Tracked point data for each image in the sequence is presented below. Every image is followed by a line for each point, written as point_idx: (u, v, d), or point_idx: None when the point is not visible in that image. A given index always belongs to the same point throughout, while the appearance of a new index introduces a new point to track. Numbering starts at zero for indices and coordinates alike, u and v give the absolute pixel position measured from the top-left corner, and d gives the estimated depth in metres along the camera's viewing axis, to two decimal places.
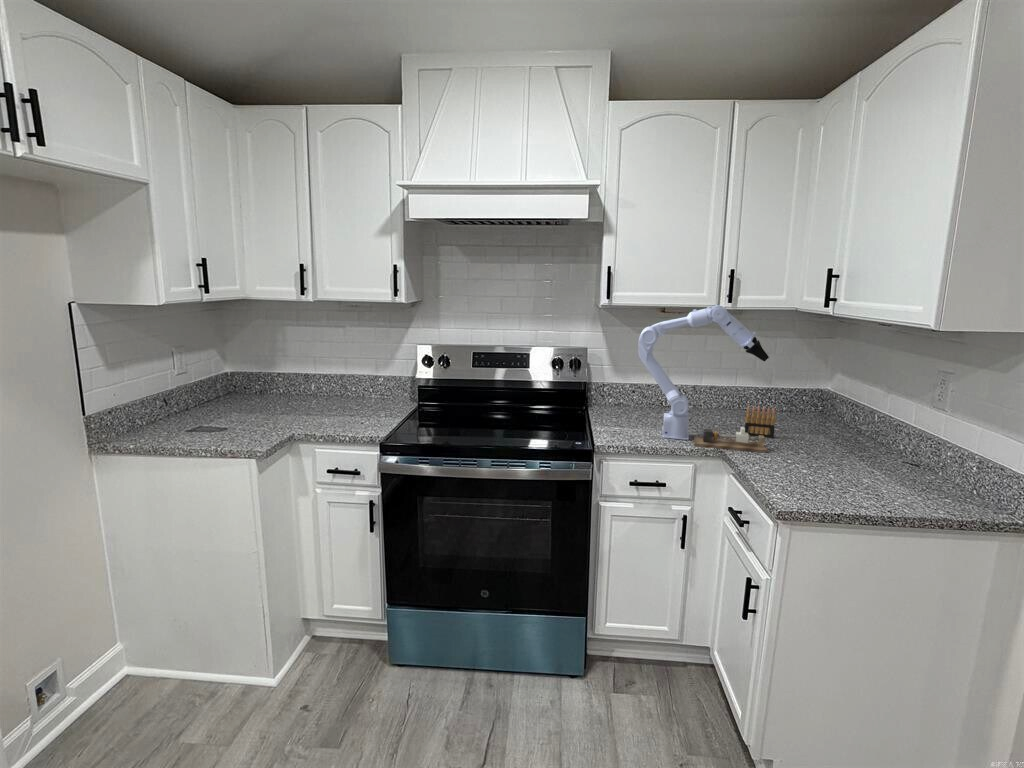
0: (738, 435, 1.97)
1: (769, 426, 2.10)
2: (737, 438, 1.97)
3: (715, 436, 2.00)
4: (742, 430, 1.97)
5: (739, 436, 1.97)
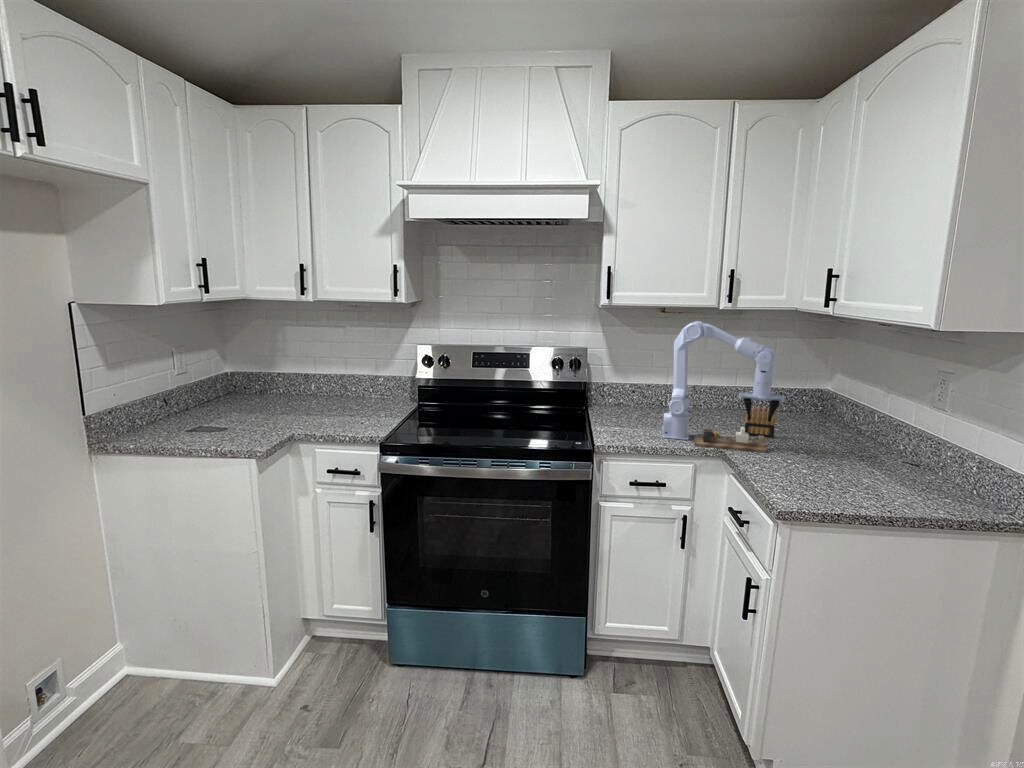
0: (738, 435, 1.97)
1: (769, 426, 2.10)
2: (737, 438, 1.97)
3: (715, 436, 2.00)
4: (742, 430, 1.97)
5: (739, 436, 1.97)
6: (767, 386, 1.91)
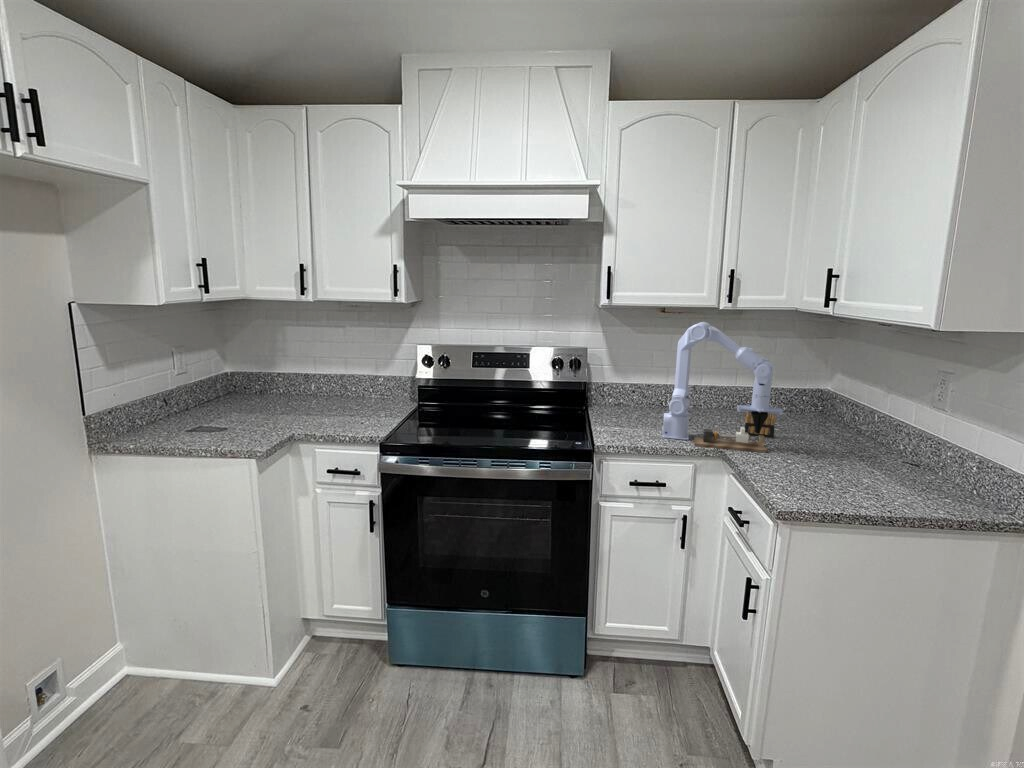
0: (738, 435, 1.97)
1: (769, 426, 2.10)
2: (737, 438, 1.97)
3: (715, 436, 2.00)
4: (742, 430, 1.97)
5: (739, 436, 1.97)
6: (765, 399, 1.91)
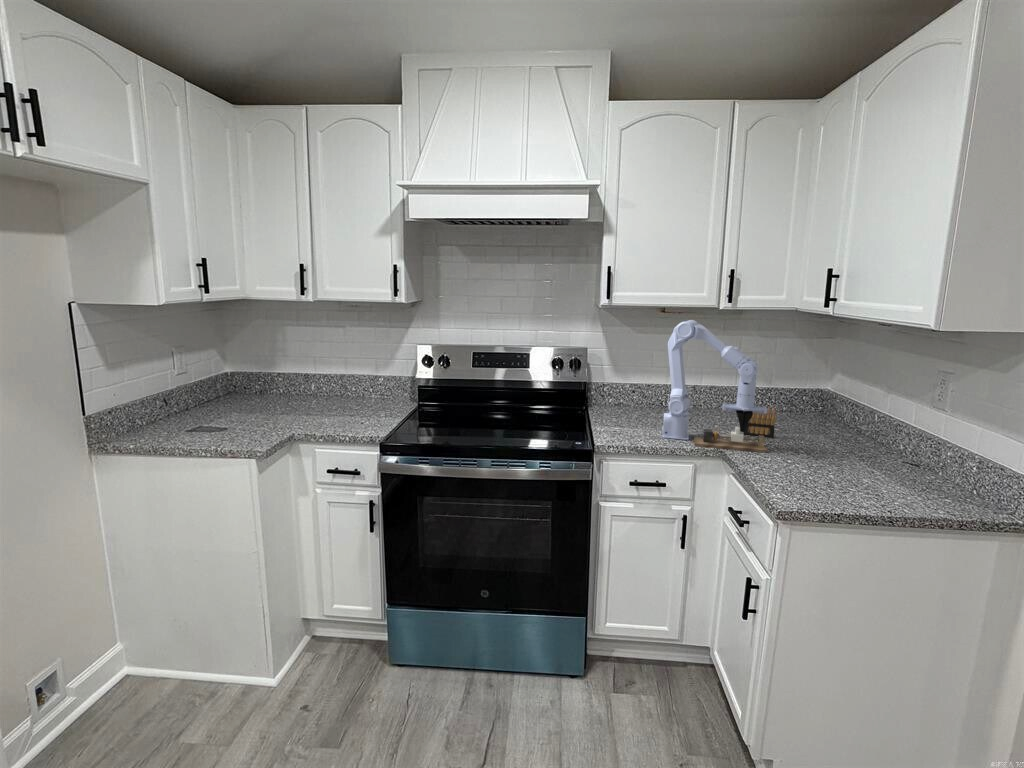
0: (733, 435, 1.98)
1: (769, 426, 2.10)
2: (732, 438, 1.98)
3: (715, 436, 2.00)
4: (737, 430, 1.97)
5: (734, 436, 1.98)
6: (750, 398, 1.93)
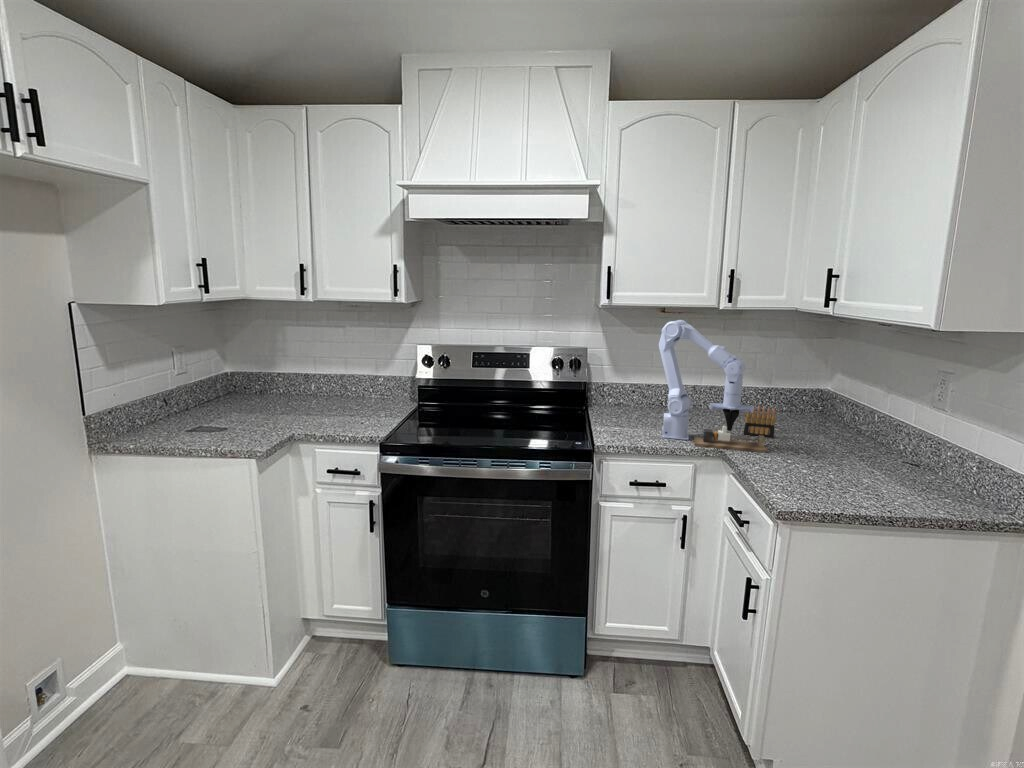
0: (720, 433, 1.99)
1: (769, 426, 2.10)
2: (719, 436, 1.99)
3: (715, 436, 2.00)
4: (724, 428, 1.98)
5: (721, 434, 1.99)
6: (736, 397, 1.94)
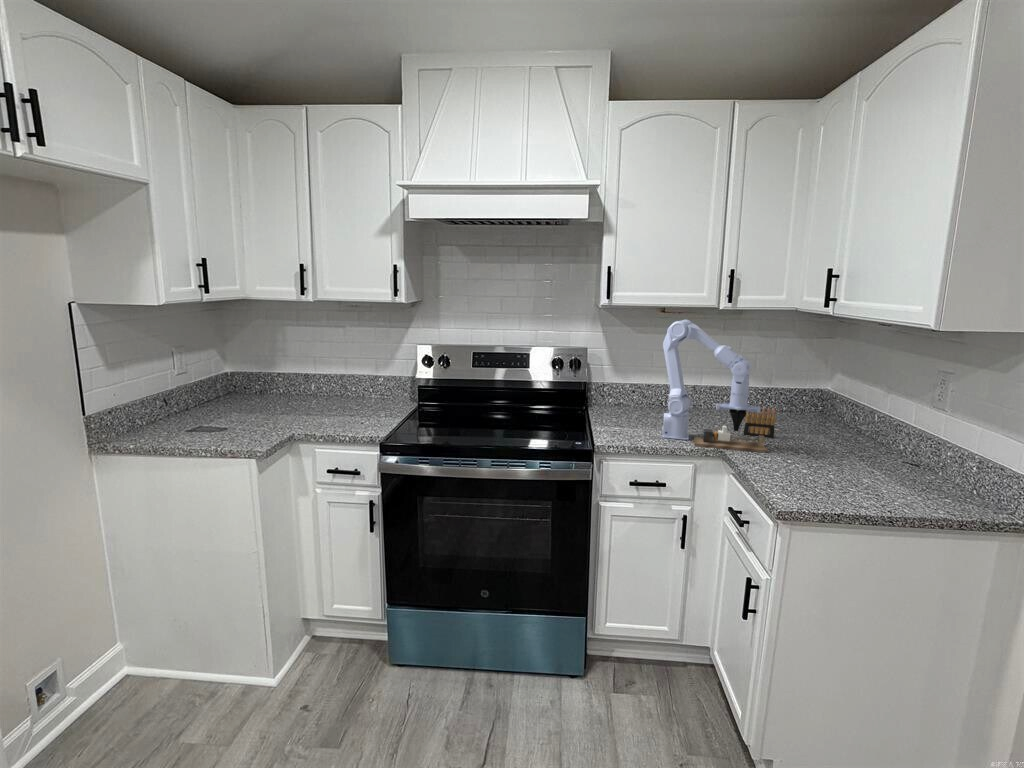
0: (720, 433, 1.99)
1: (769, 426, 2.10)
2: (719, 436, 1.99)
3: (715, 436, 2.00)
4: (724, 428, 1.98)
5: (721, 434, 1.99)
6: (743, 397, 1.93)
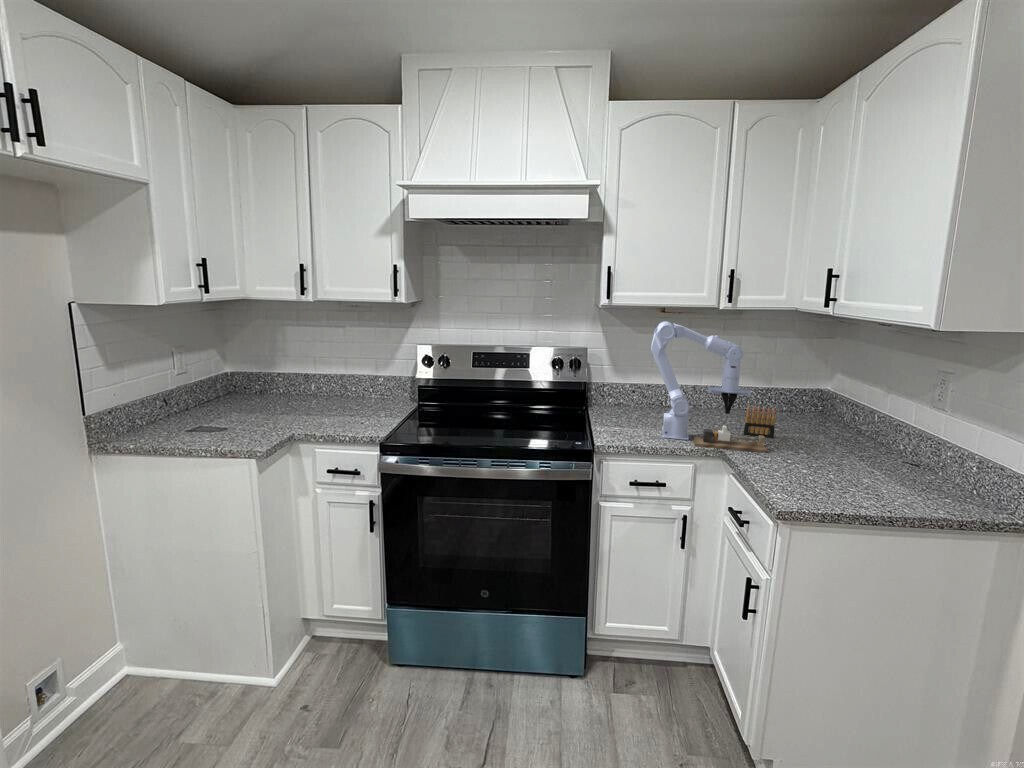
0: (720, 433, 1.99)
1: (769, 426, 2.10)
2: (719, 436, 1.99)
3: (715, 436, 2.00)
4: (724, 428, 1.98)
5: (721, 434, 1.99)
6: (734, 380, 2.00)
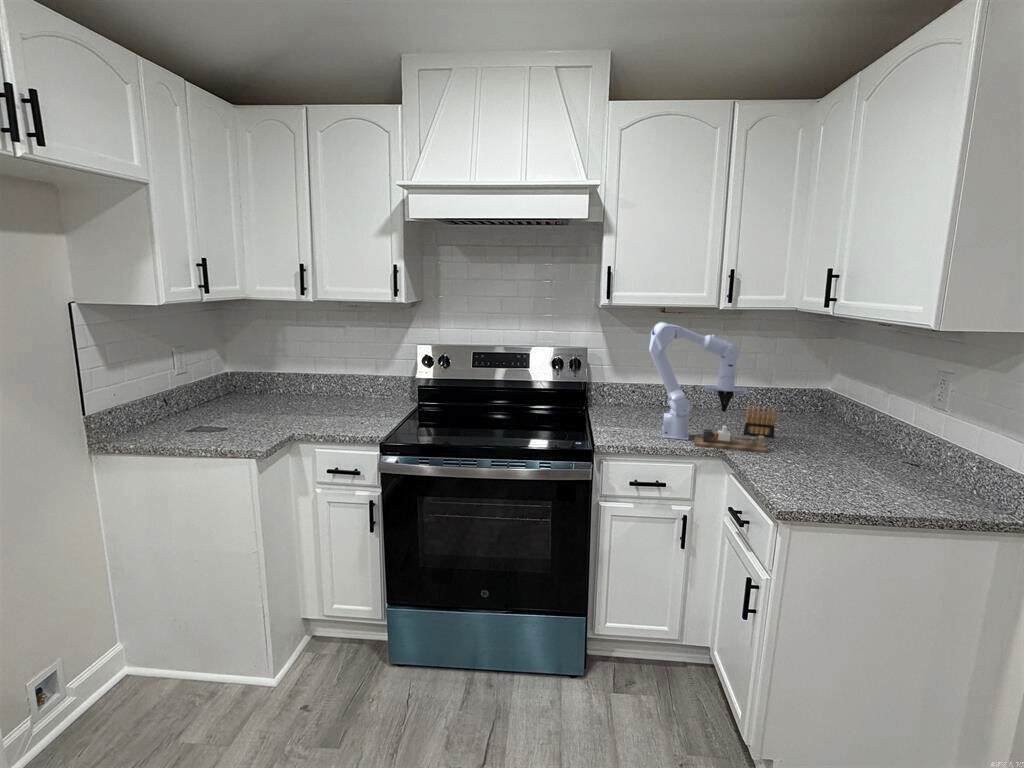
0: (720, 433, 1.99)
1: (769, 426, 2.10)
2: (719, 436, 1.99)
3: (715, 436, 2.00)
4: (724, 428, 1.98)
5: (721, 434, 1.99)
6: (730, 379, 2.03)
